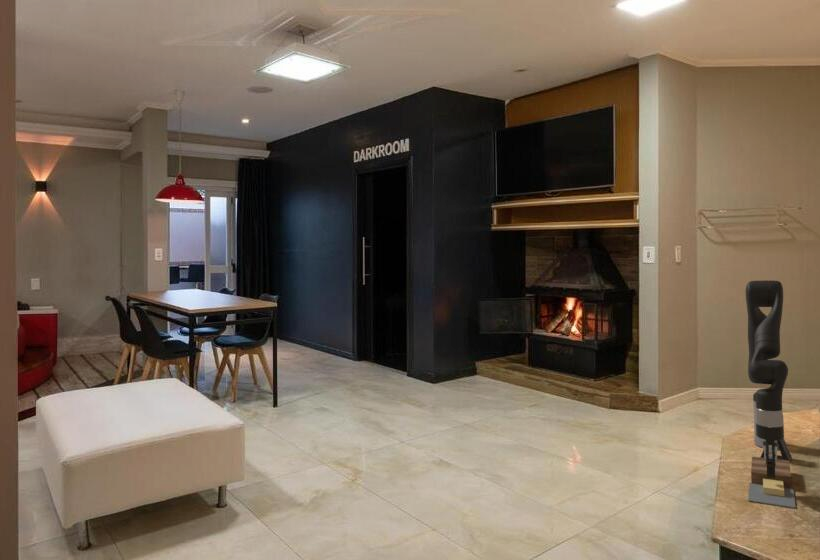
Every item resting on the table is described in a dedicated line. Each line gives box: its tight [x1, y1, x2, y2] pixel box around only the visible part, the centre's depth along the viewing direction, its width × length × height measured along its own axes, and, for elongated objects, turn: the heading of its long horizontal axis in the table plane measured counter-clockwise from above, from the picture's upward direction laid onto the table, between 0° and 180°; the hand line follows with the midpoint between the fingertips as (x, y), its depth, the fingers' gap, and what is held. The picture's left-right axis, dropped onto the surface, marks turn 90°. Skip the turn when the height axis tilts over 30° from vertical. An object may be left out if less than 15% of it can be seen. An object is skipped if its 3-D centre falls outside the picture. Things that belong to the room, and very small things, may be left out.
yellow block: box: [763, 478, 784, 496], centre depth 184 cm, size 8×6×2 cm
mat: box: [748, 482, 797, 509], centre depth 181 cm, size 15×12×1 cm
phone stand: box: [760, 438, 793, 462], centre depth 212 cm, size 9×6×12 cm, turn 49°
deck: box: [750, 456, 793, 489], centre depth 195 cm, size 16×11×4 cm
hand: (771, 476), depth 184 cm, fingers closed
